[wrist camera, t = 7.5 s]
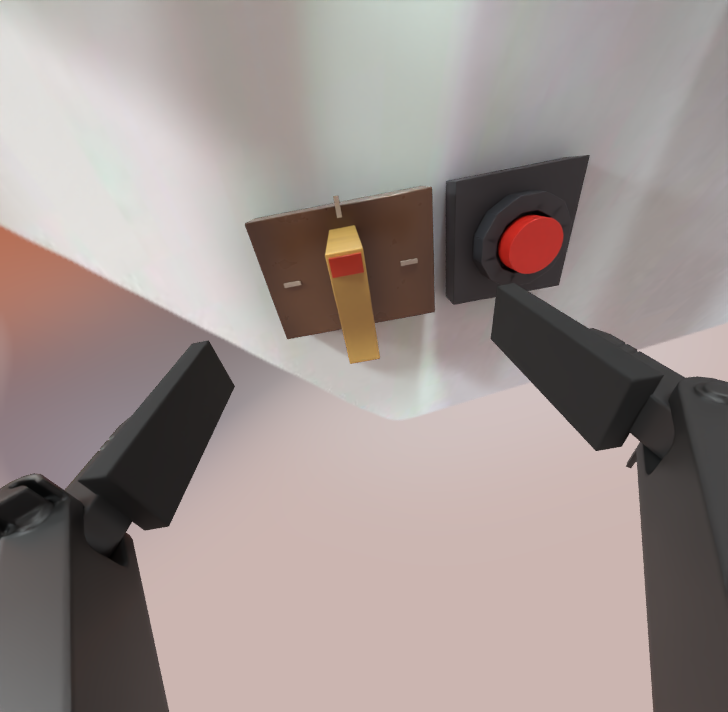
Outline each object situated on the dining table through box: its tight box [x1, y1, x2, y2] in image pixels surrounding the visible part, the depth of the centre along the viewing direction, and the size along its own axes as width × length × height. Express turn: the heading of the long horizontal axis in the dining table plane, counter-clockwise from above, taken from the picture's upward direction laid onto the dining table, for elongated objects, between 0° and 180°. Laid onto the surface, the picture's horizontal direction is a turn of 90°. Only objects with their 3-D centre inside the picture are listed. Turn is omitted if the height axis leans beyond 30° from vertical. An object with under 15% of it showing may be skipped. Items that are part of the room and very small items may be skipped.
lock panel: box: [245, 186, 435, 339], centre depth 24 cm, size 14×11×3 cm
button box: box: [446, 155, 589, 305], centre depth 23 cm, size 10×10×4 cm
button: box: [498, 215, 563, 274], centre depth 21 cm, size 4×4×2 cm
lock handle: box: [325, 225, 380, 364], centre depth 19 cm, size 7×2×8 cm, turn 9°
